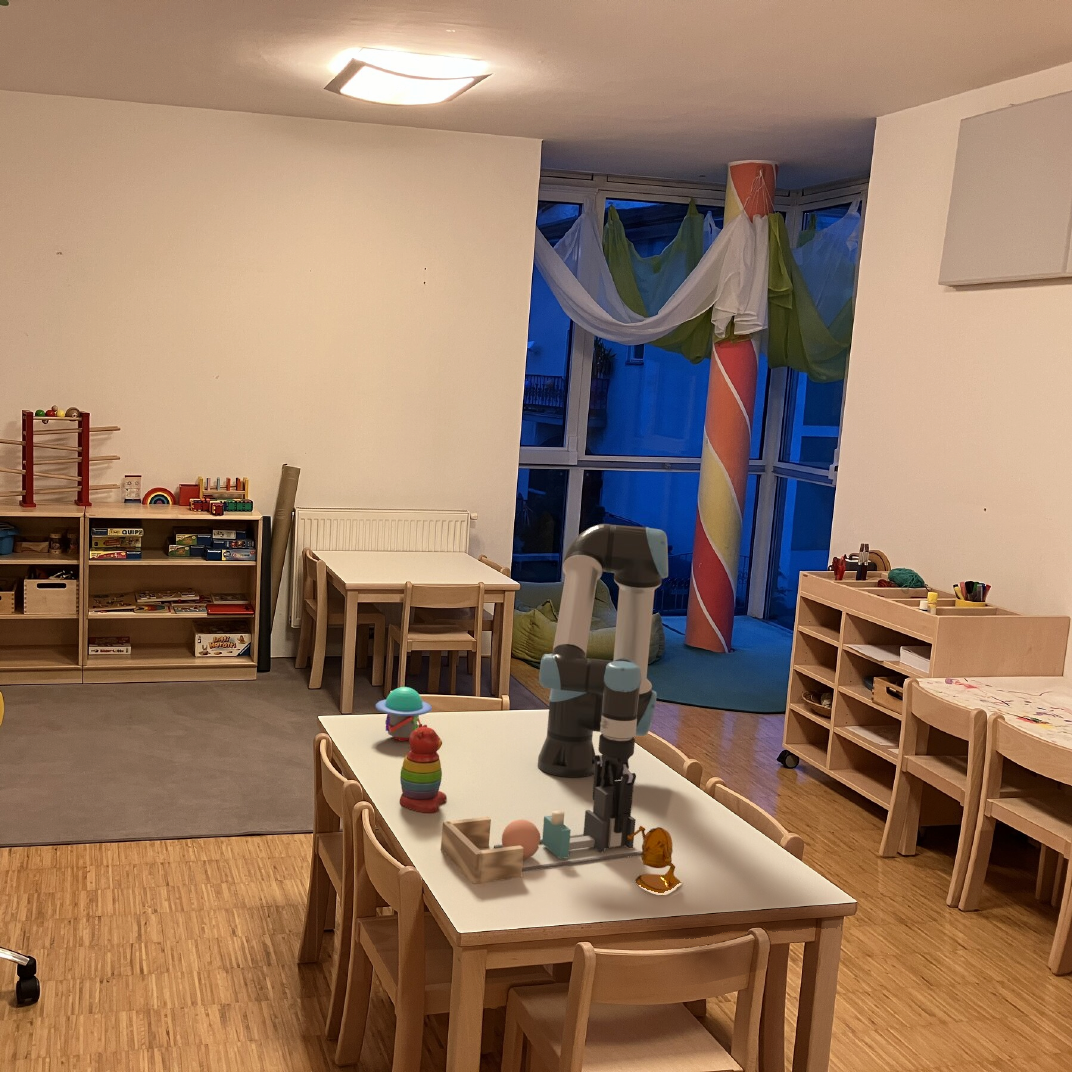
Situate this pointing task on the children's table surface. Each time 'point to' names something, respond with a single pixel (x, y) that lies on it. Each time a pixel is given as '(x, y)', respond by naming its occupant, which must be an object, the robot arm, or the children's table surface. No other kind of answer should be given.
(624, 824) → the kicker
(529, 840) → the toy ball
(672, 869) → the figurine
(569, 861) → the track
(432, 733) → the stacking bear
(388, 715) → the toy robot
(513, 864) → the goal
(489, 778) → the children's table surface
